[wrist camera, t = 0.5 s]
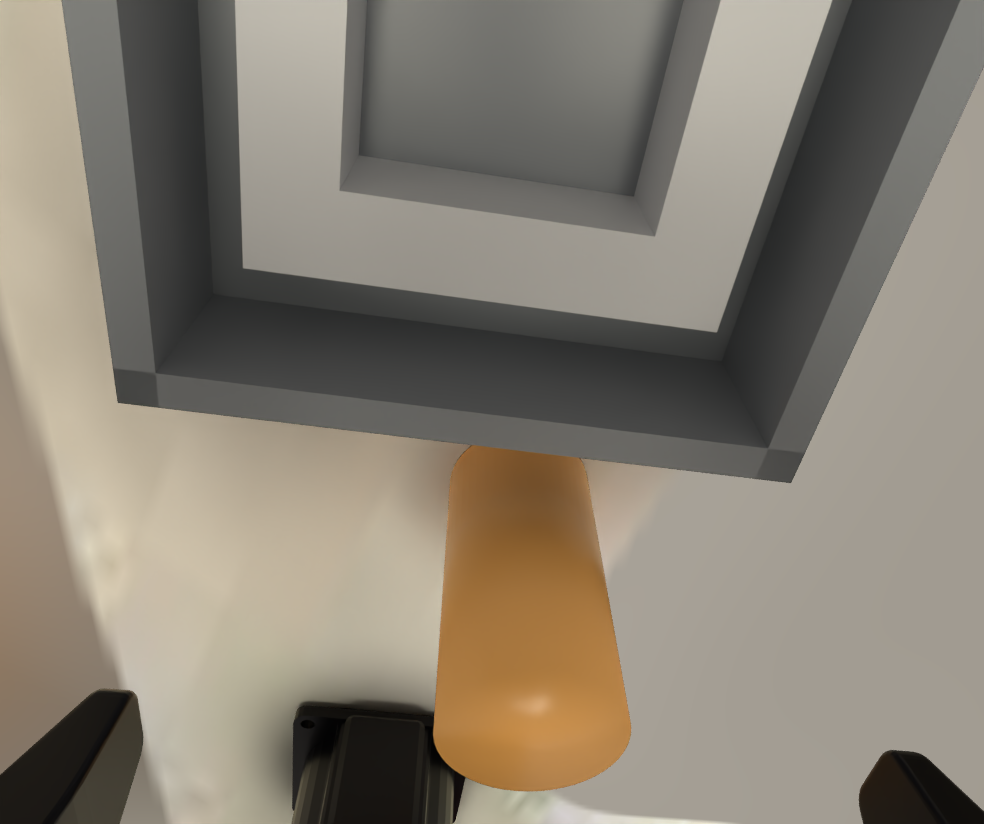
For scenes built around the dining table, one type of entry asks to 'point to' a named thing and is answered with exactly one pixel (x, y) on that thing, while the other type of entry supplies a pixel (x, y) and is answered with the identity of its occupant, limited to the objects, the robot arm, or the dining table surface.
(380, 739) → the robot arm
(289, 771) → the dining table surface
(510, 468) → the plug
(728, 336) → the inlet box
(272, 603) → the dining table surface
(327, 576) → the dining table surface
